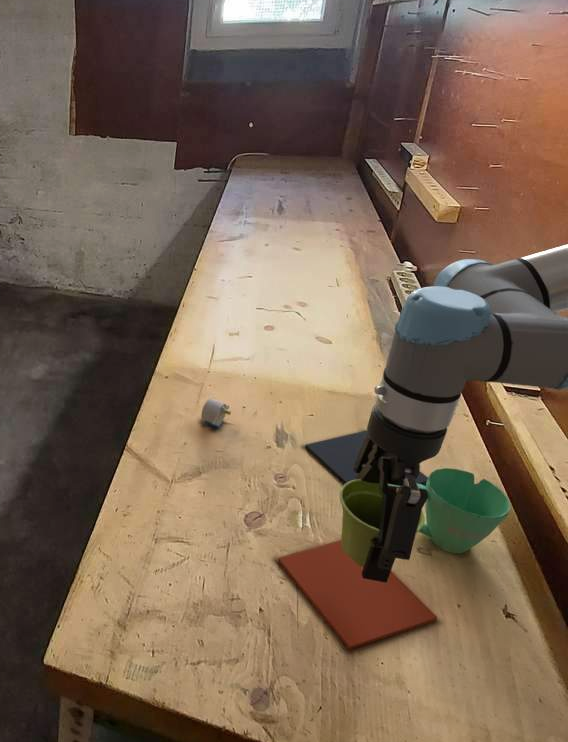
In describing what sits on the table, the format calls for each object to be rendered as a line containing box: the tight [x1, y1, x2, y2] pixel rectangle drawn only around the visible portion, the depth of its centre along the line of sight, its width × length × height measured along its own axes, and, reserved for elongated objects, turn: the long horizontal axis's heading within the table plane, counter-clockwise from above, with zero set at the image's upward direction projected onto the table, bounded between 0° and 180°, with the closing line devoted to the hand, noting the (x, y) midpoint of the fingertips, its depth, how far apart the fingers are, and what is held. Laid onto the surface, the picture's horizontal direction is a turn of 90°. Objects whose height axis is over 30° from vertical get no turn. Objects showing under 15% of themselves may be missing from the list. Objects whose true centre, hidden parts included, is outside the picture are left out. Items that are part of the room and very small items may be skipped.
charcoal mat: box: [305, 429, 429, 485], centre depth 101 cm, size 14×14×1 cm
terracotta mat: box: [277, 540, 438, 650], centre depth 79 cm, size 14×14×1 cm
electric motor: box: [200, 397, 232, 429], centre depth 112 cm, size 7×5×5 cm
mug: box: [390, 467, 511, 554], centre depth 85 cm, size 15×10×10 cm
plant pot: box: [339, 479, 426, 567], centre depth 74 cm, size 9×9×9 cm
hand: (364, 550), depth 76 cm, fingers closed on plant pot, 8 cm apart
